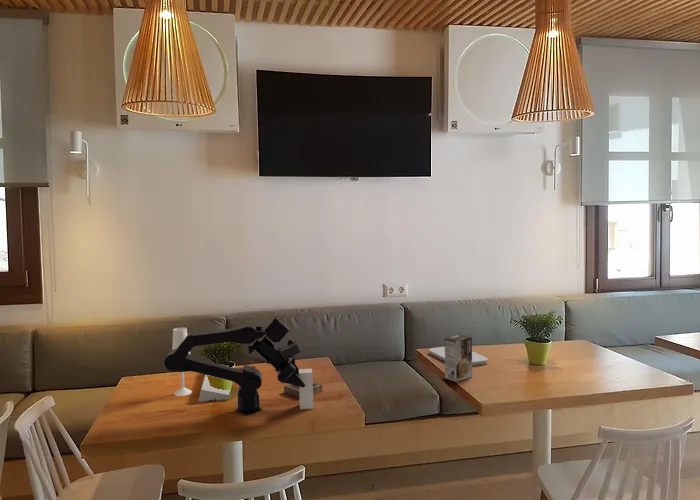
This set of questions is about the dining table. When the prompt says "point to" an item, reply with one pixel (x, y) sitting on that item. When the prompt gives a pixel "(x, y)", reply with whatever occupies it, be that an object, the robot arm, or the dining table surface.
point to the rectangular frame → (294, 389)
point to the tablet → (476, 358)
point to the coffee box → (458, 357)
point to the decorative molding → (212, 392)
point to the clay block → (306, 389)
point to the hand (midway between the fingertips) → (303, 382)
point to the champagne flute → (178, 338)
